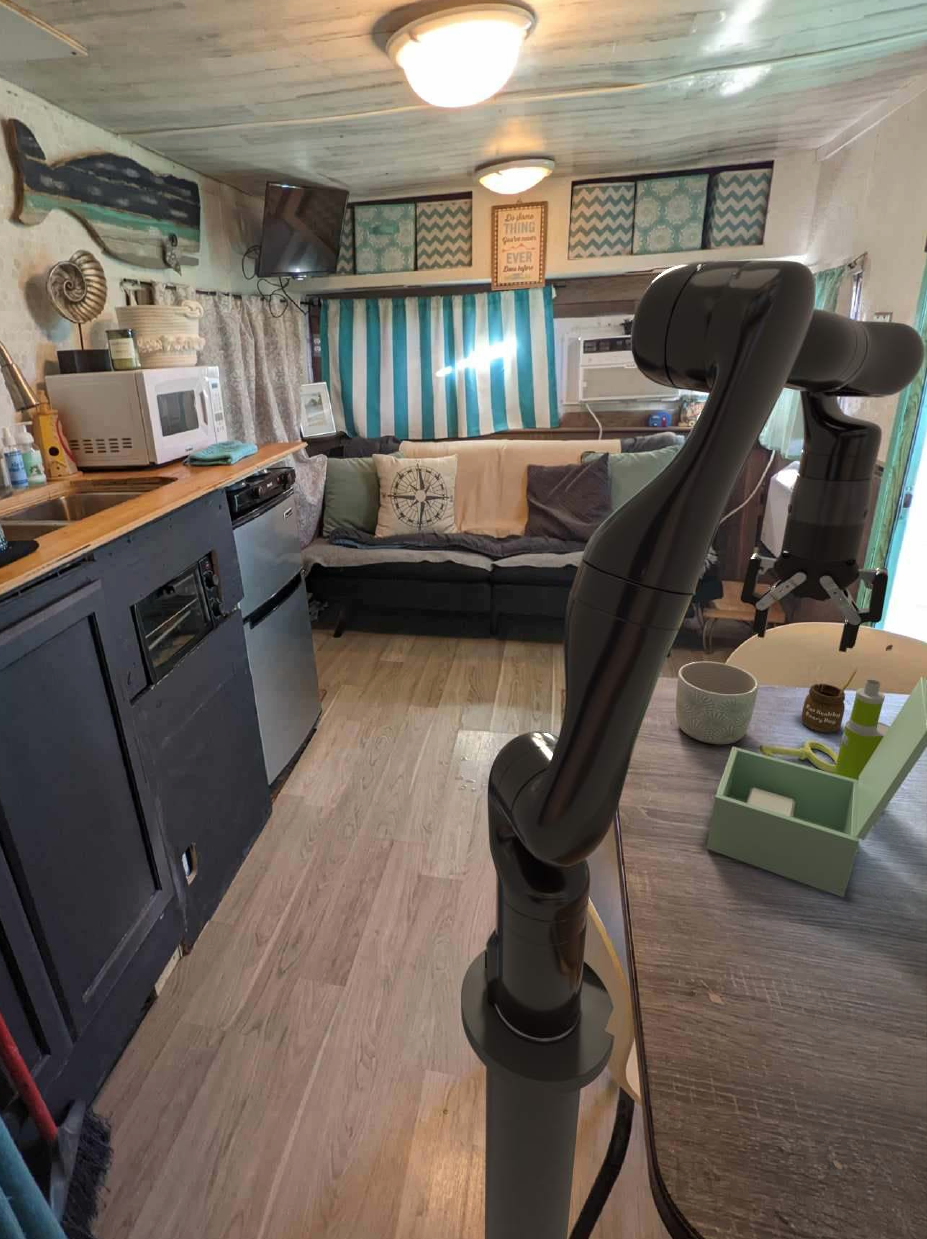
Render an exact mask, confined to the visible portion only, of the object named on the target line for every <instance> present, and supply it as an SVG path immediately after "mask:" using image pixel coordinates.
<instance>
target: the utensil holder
mask: <svg viewBox="0 0 927 1239" xmlns="http://www.w3.org/2000/svg"><path fill="white" fill-rule="evenodd" d="M815 669H817V671H816V672H817V674H816V675H817V681H819V669H823V670H822V671H821V672H822V674H823V676H822V681H823V682H822V683H815V681H814V680H815V678H814V676H812V674H814V671H815ZM857 669H858V667H855V668H854V670H853V671H852V673H851V674H850V676H849V677H848V679H847V680H846V682H845V684H844V686H843V687H842V689H841V688H839V687H837V686H835V685H831V684H827V682H825V680H826V674H824V673H827V671H826V670H825V669H824V668H822V666H814V667H813V668H811V670H810V671H809V679H810V680H811V681H810V683H811V686H810V688H809V690H808V694H807V695H806V696H805V699H804V702H803V707H802V711H801V716H800V717H801V718H800V720H801V723H802V724H803V725H804V726H806V727H807V728H808V729H810V730H813V731H815V732H818V733H825V734H832V733H836V732H838V731H839V730H840V728H841V726H842V722H843V718H844V714H845V709H846V704H845V700H846V693H845V690H846V689H847V687H848V686H849V685H850V683H851V682H852V680H853V678H854V677H855V675H856V674H857Z"/></svg>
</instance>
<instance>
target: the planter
mask: <svg viewBox="0 0 927 1239" xmlns="http://www.w3.org/2000/svg"><path fill="white" fill-rule="evenodd" d="M677 673H678V674H677V682H676V684H677V685H676V697H675V717H676V722H677V725H678V727H679V728H680V729H681V730H682V731H683V733H685V734H686V735H688V736H689V737H691V738H693V739H695V740H697V741H699V742H702V743H706V744H712V745H729V744H733V743H736V742H738V741H740V740H741V739H743V737H744V736H745V735H746V733H747V732H748V730H749V727H750V724H751V720H752V717H753V713H754V709H755V704H756V701H757V696H758V691H759V687H760V684H759V681H758V679H757V678H756V677H755V676H754V675H753V674H752V673H750V672H748V671H747V670H745V669H743V668H741V667H738V666H735V665H732V664H729V663H724V662H718V661H705V660H703V661H694V662H690V663H687V664H684V665H683V666H681V667H680V668H679V670H678V672H677Z"/></svg>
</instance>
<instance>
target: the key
mask: <svg viewBox="0 0 927 1239" xmlns="http://www.w3.org/2000/svg"><path fill="white" fill-rule="evenodd" d="M813 749H815V750H818V751H821V752H823V753H824V754H827V756H829V757H830V758H831V759H832V760H833V761H834V763H835V764H833V763H829V762H826V761H824V760H823V759H821V758H820V757H819V756H817V755H816V754H815V753H814V752H813V751H812V750H813ZM758 751H759V753H763V755H766V756H770V757H773V758H775V757H774V755H781V756H788V757H789V756H790V757H795V758H796V757H797V758H798V759H799V760H805V759H808V761H809V762H811V764H813V765H814V766H815V767H817V768H819V770H822V771H826V772H829V773H834V770H835V766H836V762H837V758H838V753H837V752H836V751H834V749H832V748H831V747H829V746H828V745H826V744H824V743H822V742H820V741H816V740H807V741H806V742H805V743H804V745H803V747H799V748H798V749H797V748H796V749H795V748H789V747H781V746H773V745H763V744H760V745H759V747H758Z"/></svg>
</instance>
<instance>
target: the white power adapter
mask: <svg viewBox="0 0 927 1239" xmlns="http://www.w3.org/2000/svg"><path fill="white" fill-rule="evenodd" d="M747 803H748V804H751V805H754V806H758V807H761V808H764V809H767V810H771V811H774V812H777V813H780V814H783V815H787V816H790V817H793V813H794V807H795V801H793V799H791V798H788V797H784V796H781V795H778V794H774V793H771V792H767V791H764V790H761V789H757V788H754V787H753V789H752V788H751V789H750V793H749V797H748V800H747Z"/></svg>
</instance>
